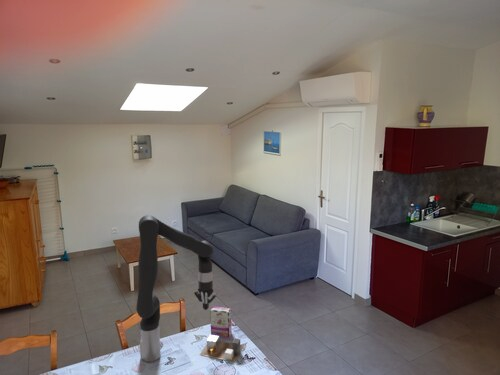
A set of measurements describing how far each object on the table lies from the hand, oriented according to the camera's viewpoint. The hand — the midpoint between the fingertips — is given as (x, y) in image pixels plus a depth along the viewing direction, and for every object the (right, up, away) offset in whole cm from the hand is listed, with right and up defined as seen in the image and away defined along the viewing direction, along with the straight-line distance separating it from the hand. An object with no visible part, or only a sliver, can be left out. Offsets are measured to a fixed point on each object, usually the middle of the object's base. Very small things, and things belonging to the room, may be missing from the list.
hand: (205, 309), depth 187 cm
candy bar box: (+7, -20, +13) cm, 25 cm away
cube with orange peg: (+4, -21, -2) cm, 22 cm away
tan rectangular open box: (+9, -22, -2) cm, 24 cm away
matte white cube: (+13, -22, -7) cm, 27 cm away
